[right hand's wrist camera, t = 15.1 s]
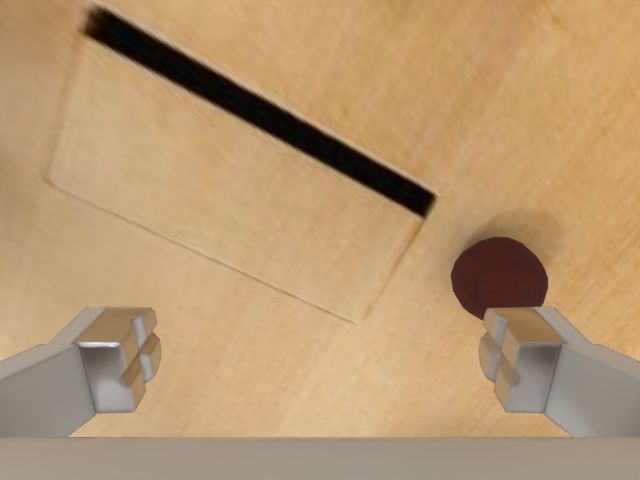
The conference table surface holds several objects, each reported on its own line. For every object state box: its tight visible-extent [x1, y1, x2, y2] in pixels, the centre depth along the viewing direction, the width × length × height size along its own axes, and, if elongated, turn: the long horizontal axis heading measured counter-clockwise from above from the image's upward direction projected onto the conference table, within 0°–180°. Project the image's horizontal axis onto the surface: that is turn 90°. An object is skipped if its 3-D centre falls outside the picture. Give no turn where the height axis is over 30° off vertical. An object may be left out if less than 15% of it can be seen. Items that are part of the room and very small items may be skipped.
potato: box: [451, 237, 548, 320], centre depth 36 cm, size 7×8×7 cm
